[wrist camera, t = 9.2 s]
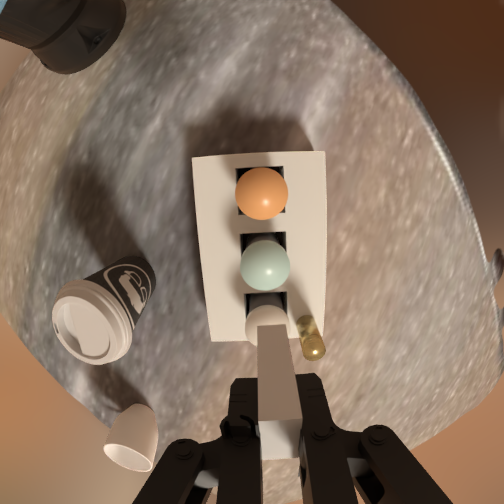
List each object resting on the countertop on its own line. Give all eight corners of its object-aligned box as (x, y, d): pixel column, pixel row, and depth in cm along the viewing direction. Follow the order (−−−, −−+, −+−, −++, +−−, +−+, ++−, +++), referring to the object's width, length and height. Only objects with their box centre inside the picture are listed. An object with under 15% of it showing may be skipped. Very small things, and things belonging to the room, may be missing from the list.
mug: (138, 390, 44) (118, 440, 33) (174, 417, 46) (162, 467, 35) (107, 409, 46) (88, 452, 35) (140, 433, 48) (126, 476, 37)
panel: (200, 159, 34) (191, 157, 29) (315, 153, 33) (324, 151, 28) (216, 321, 40) (211, 341, 35) (315, 316, 39) (322, 335, 35)
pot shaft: (296, 315, 34) (303, 343, 28) (315, 314, 34) (326, 341, 28) (296, 332, 34) (302, 361, 29) (315, 330, 34) (324, 359, 29)
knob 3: (245, 278, 38) (243, 311, 29) (282, 276, 38) (290, 308, 29) (248, 310, 39) (246, 349, 30) (283, 308, 39) (290, 347, 30)
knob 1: (238, 169, 34) (233, 168, 25) (278, 167, 34) (287, 166, 25) (241, 208, 35) (236, 221, 26) (280, 206, 35) (289, 218, 26)
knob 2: (242, 225, 36) (238, 244, 27) (281, 223, 36) (289, 241, 27) (244, 262, 37) (241, 291, 28) (282, 260, 37) (290, 289, 28)
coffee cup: (113, 234, 36) (48, 271, 22) (174, 261, 37) (131, 314, 23) (101, 292, 39) (46, 345, 24) (157, 318, 40) (118, 384, 25)
